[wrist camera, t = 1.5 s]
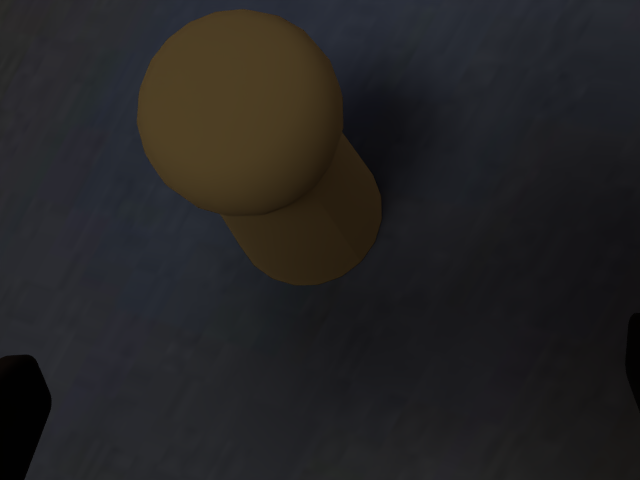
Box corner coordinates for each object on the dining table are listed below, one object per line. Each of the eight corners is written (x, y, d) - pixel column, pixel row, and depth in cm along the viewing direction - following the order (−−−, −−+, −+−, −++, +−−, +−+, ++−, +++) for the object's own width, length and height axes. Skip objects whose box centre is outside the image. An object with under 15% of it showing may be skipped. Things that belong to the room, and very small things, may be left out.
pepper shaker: (210, 185, 25) (61, 46, 15) (338, 114, 25) (278, -77, 15) (273, 313, 24) (155, 260, 13) (410, 239, 24) (402, 124, 13)
